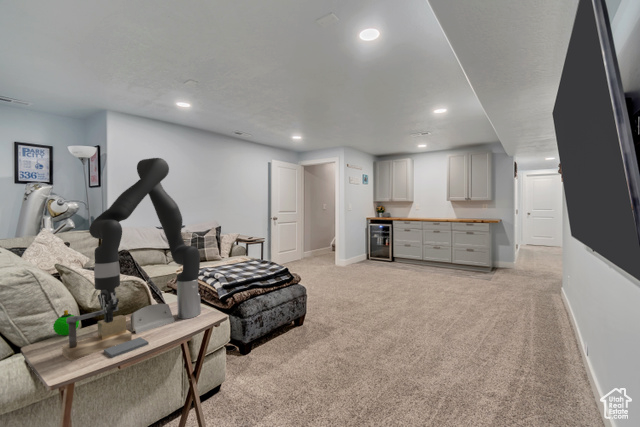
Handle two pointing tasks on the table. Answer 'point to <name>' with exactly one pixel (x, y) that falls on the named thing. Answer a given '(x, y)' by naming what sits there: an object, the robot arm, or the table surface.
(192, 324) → the table surface
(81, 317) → the lever
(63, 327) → the ornament
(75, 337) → the wooden base stand
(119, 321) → the tan rectangular block
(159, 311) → the grey upright curved plate
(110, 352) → the mat
